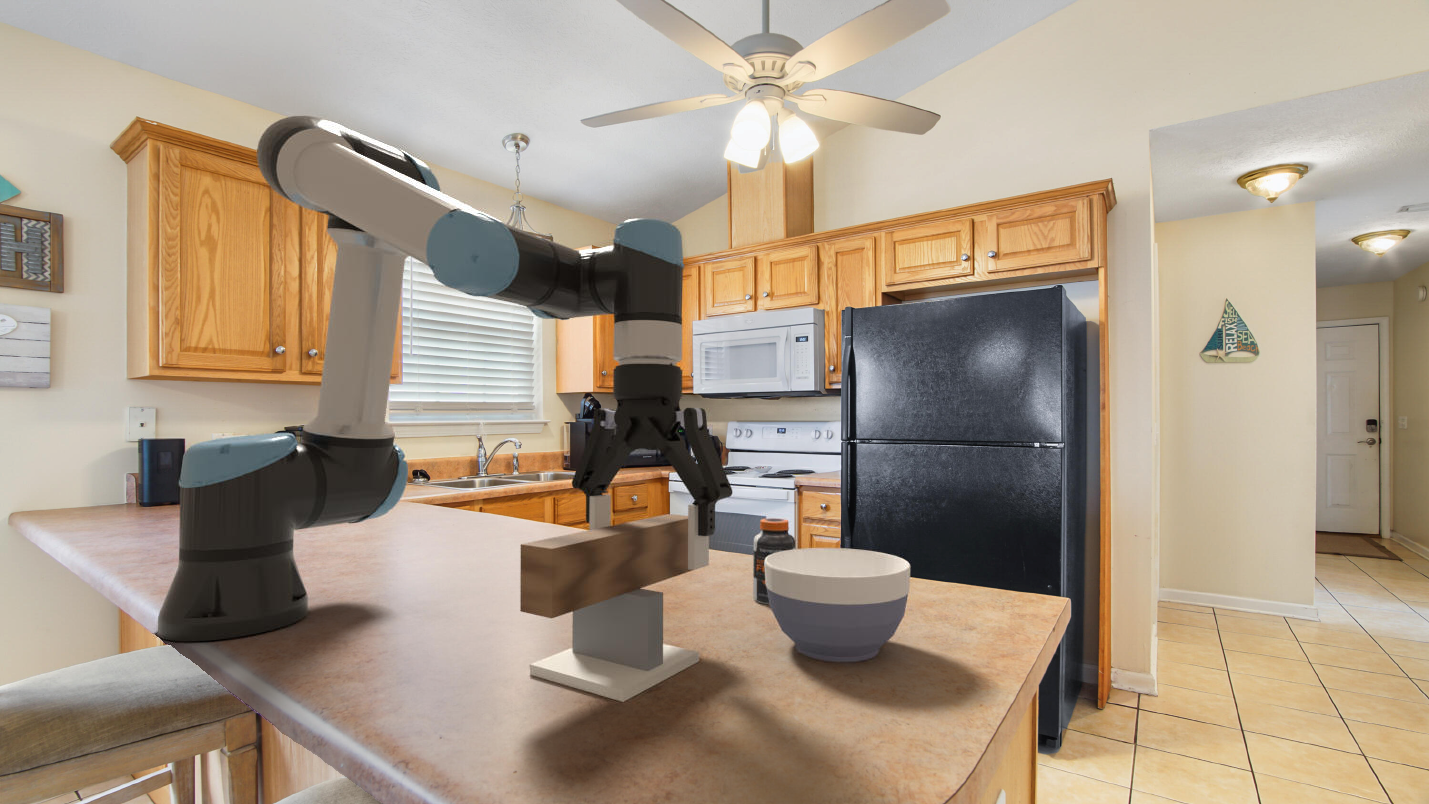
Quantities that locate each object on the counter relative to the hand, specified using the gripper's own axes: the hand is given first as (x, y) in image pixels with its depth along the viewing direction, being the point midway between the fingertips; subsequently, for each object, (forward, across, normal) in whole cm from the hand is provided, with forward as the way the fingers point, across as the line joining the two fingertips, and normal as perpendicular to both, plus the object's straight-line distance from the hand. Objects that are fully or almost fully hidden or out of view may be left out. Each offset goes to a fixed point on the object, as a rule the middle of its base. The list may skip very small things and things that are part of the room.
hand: (646, 560), depth 72 cm
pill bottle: (+10, -2, -27) cm, 29 cm away
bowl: (+10, -17, -13) cm, 23 cm away
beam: (+2, 0, +5) cm, 5 cm away
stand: (+10, 0, +5) cm, 11 cm away
